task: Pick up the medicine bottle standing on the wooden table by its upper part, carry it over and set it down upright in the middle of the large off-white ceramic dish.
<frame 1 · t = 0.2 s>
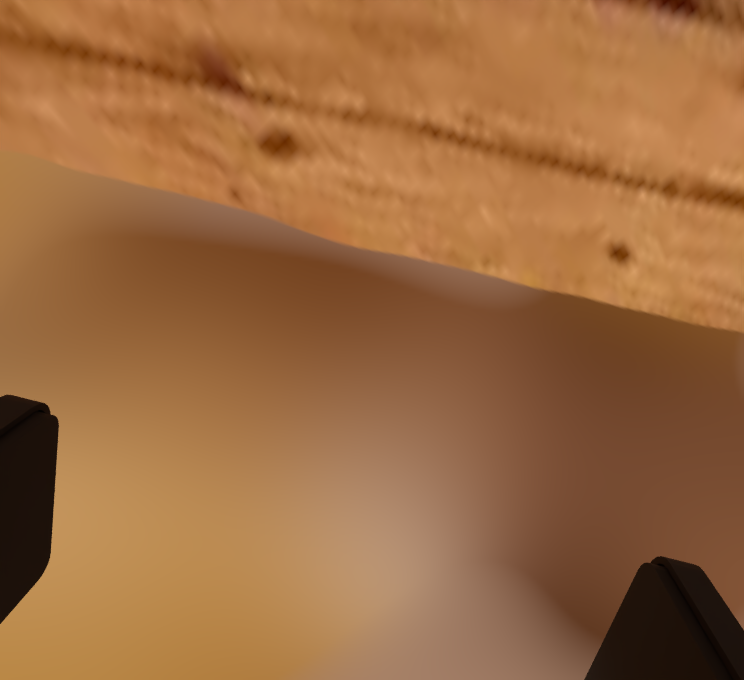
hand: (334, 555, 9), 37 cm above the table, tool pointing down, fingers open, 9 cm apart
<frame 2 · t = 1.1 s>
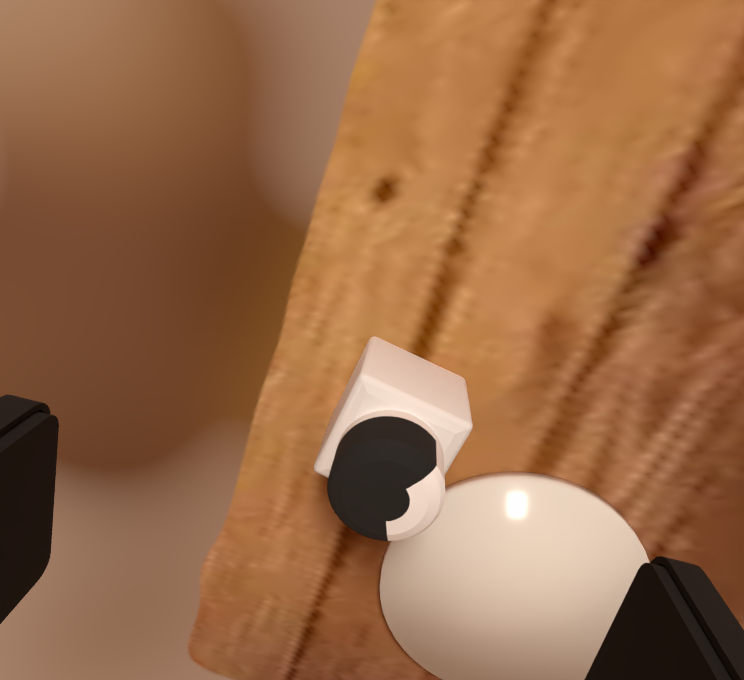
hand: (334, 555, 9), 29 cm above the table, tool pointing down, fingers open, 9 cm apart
dish: (511, 585, 44), on the table
medicine bottle: (397, 397, 40), on the table
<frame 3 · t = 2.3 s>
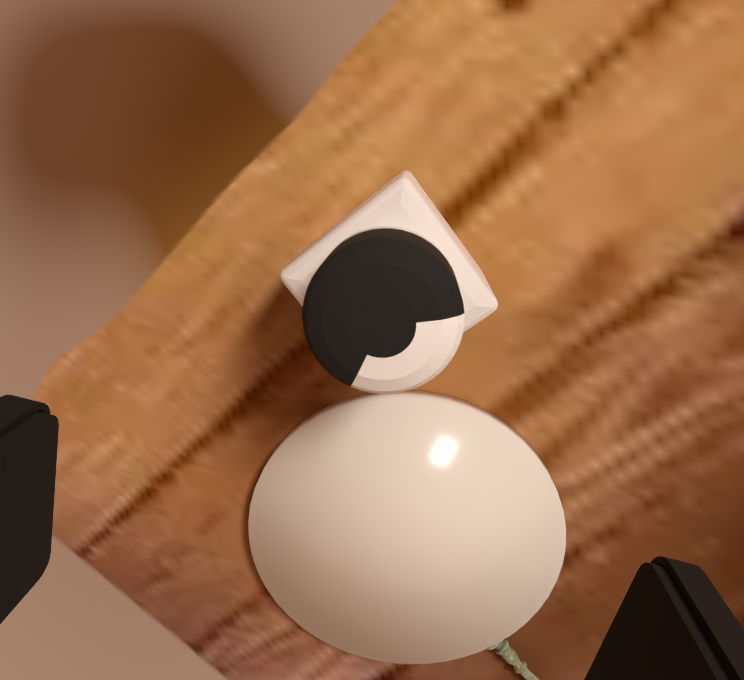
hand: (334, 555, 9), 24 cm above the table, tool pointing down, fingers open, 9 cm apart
dish: (404, 530, 38), on the table
medicine bottle: (394, 260, 32), on the table
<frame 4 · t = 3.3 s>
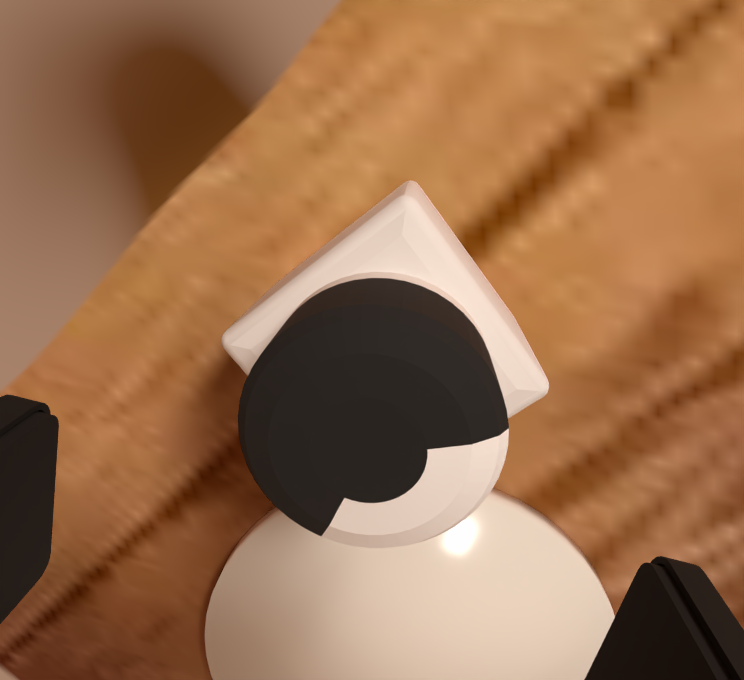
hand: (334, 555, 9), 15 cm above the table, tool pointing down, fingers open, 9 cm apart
dish: (407, 644, 29), on the table
medicine bottle: (394, 302, 24), on the table
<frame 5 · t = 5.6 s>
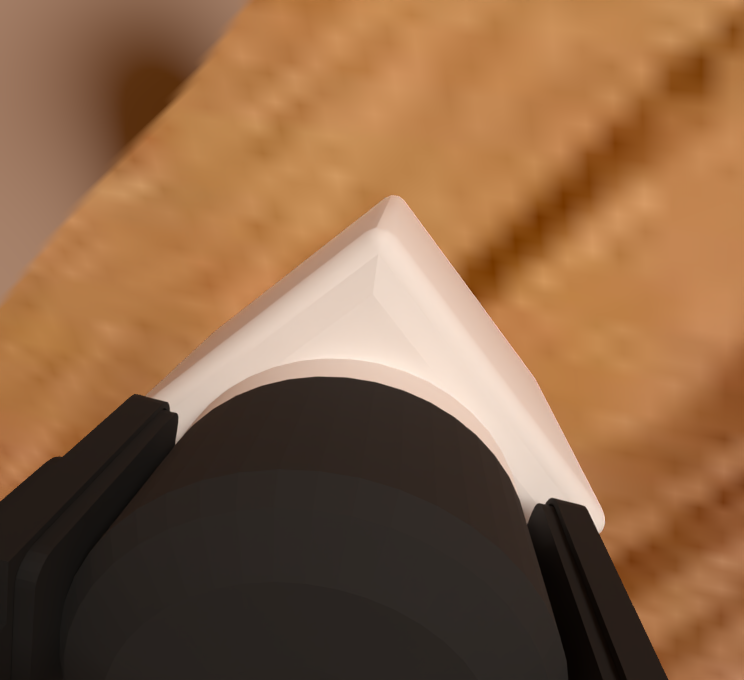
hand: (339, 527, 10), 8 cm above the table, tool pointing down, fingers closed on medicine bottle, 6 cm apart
medicine bottle: (373, 356, 18), on the table, touching gripper
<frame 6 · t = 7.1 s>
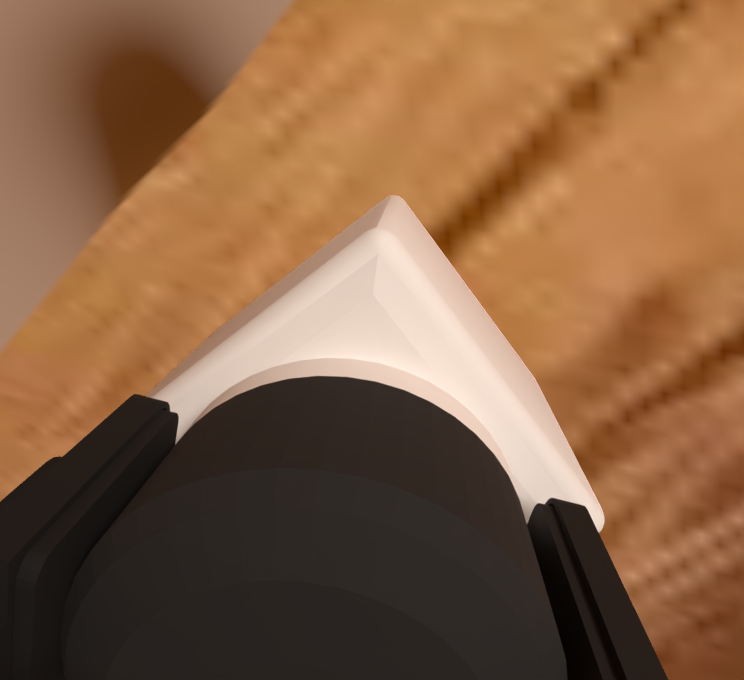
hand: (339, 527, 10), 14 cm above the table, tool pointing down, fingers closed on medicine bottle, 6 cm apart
medicine bottle: (373, 356, 18), point 5 cm above the table, touching gripper
when the fingers open (10 cm above the table, at t = 13.0 s): medicine bottle drops 1 cm, resting on dish.
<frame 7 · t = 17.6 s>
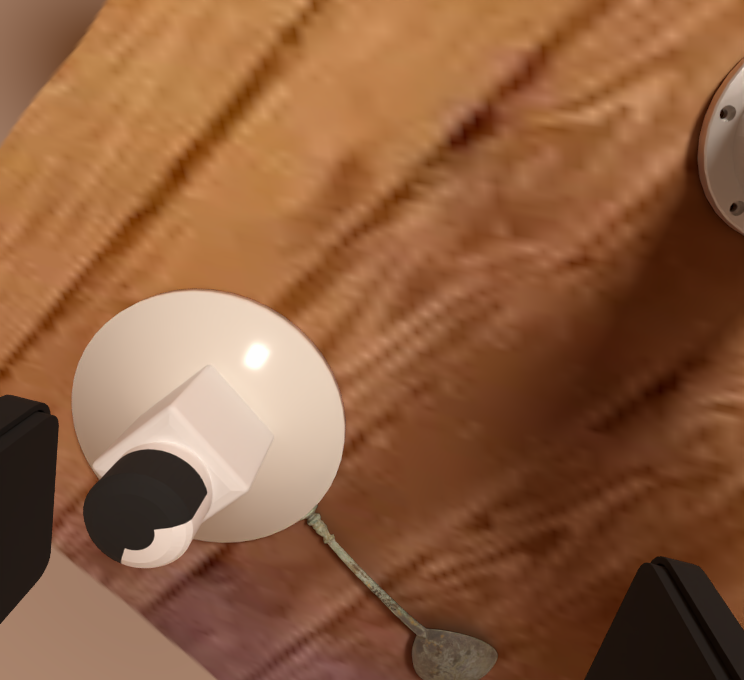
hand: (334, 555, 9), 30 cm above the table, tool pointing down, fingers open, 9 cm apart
dish: (212, 419, 43), on the table
soupspoon: (398, 591, 48), on the table
medicine bottle: (209, 424, 42), point 1 cm above the table, touching dish
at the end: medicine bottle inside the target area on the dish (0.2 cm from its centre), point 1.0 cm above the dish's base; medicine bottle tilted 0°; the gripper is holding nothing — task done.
